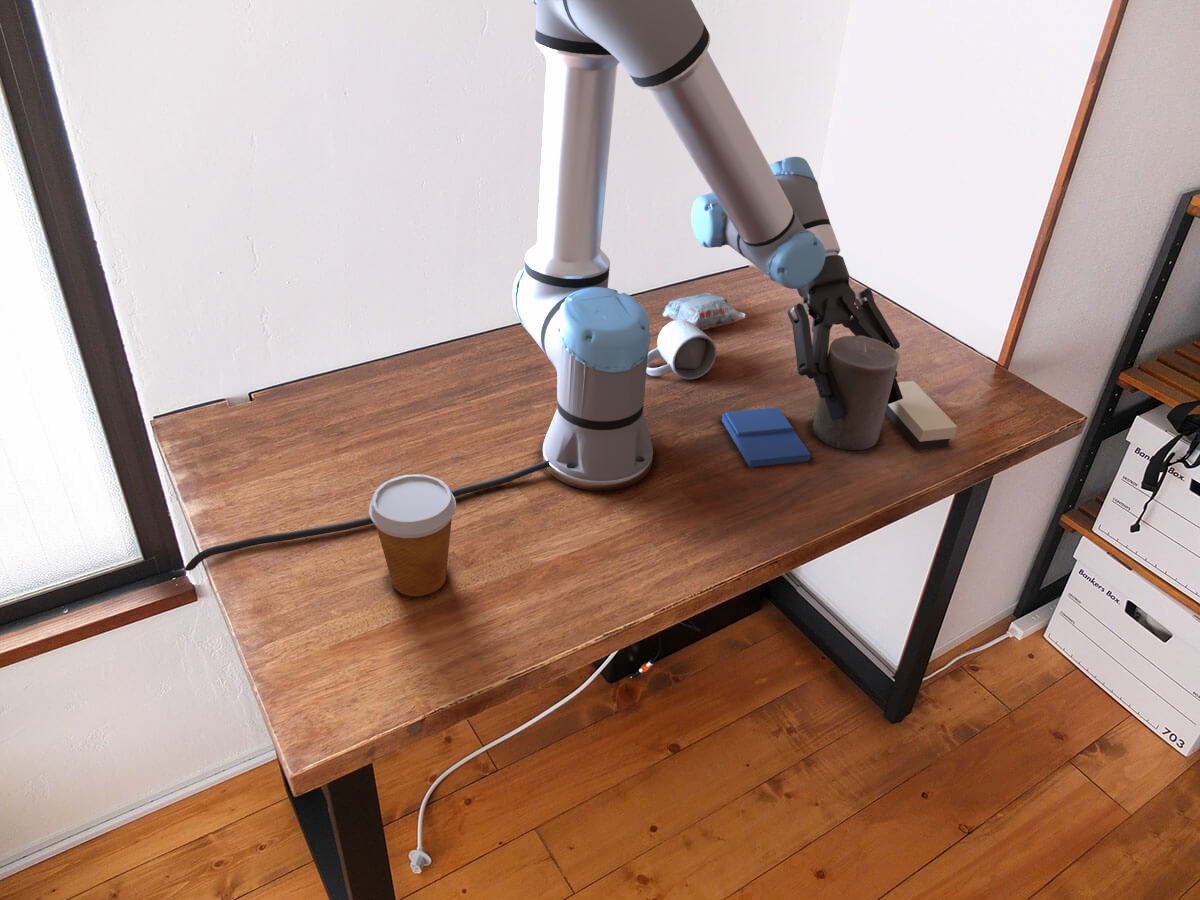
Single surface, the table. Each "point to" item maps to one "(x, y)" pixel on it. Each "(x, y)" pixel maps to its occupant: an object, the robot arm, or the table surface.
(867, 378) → the pillar candle
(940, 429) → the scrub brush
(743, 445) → the blue dish cloth
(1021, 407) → the table surface
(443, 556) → the disposable coffee cup
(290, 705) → the table surface
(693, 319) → the packaged food
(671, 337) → the ceramic mug
